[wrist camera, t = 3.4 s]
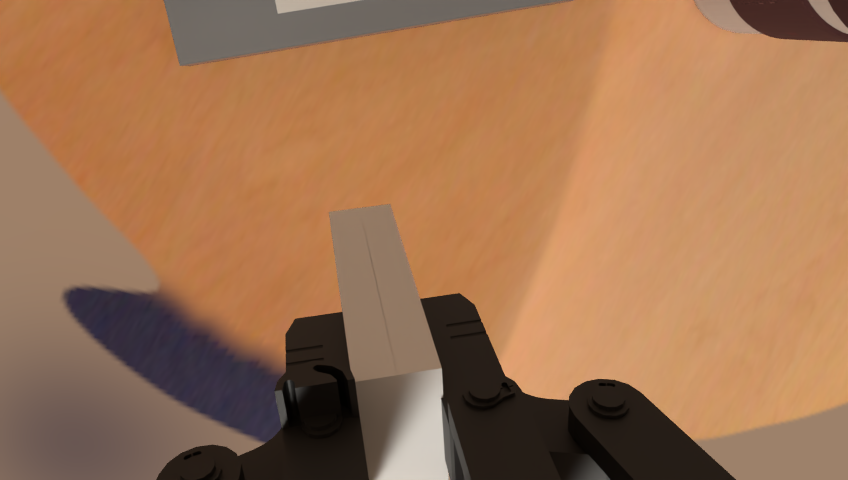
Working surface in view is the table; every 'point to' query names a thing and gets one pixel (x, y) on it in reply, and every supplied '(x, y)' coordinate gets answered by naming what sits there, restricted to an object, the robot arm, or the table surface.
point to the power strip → (307, 22)
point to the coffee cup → (781, 18)
